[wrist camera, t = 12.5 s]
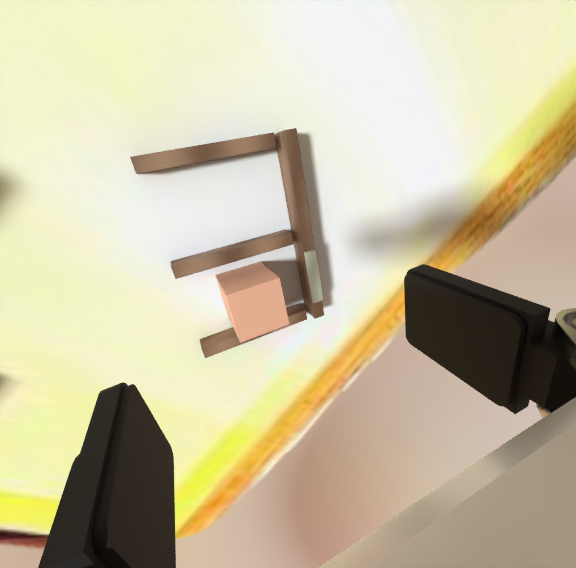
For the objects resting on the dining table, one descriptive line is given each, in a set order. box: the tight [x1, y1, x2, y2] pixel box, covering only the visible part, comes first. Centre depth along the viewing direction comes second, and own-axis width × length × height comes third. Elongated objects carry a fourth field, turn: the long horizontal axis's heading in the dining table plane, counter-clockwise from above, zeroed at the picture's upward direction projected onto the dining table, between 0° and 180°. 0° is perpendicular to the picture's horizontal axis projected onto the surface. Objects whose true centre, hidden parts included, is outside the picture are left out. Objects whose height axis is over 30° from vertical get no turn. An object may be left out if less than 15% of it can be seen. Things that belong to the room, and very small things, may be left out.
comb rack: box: [130, 128, 324, 358], centre depth 28 cm, size 14×20×3 cm
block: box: [216, 262, 289, 343], centre depth 29 cm, size 5×5×6 cm
